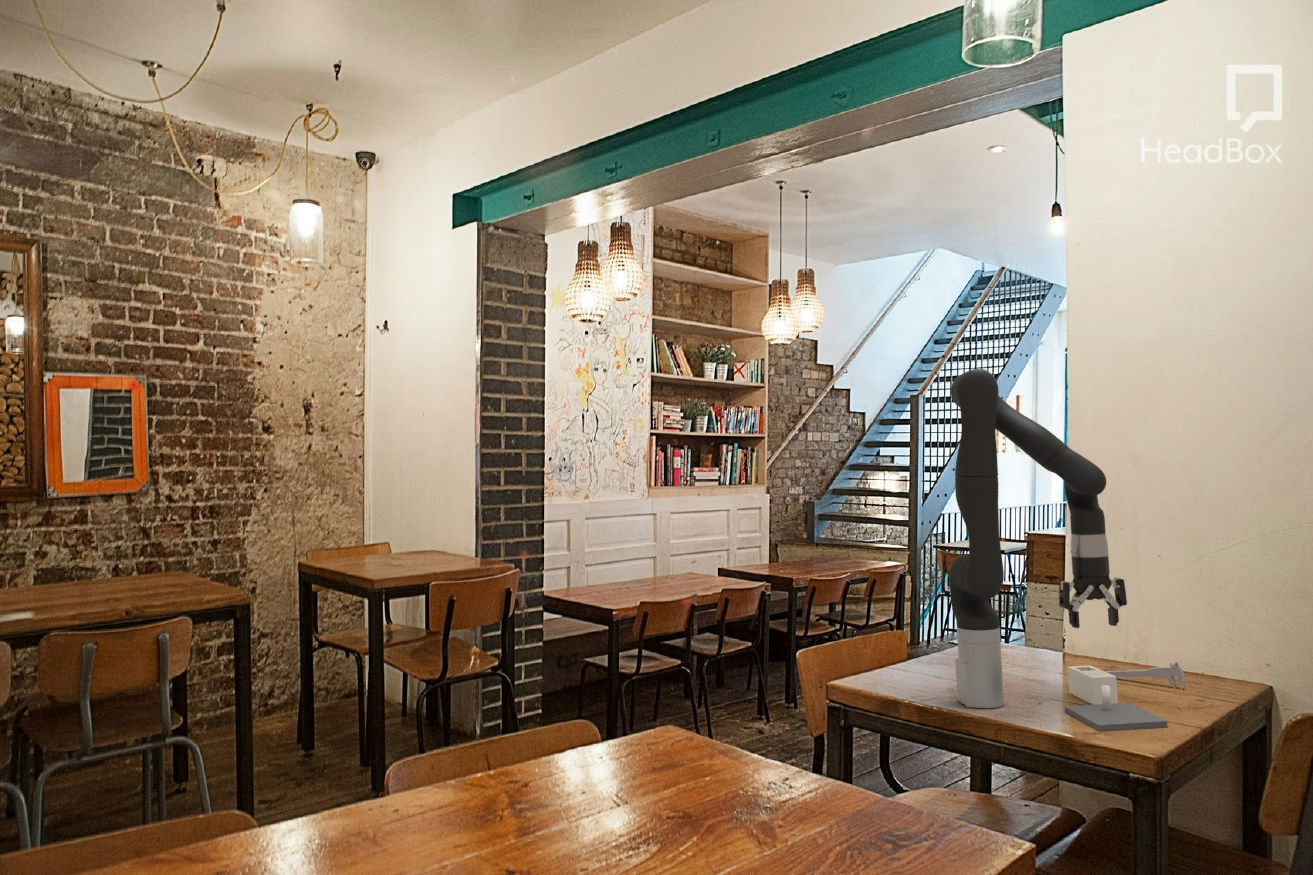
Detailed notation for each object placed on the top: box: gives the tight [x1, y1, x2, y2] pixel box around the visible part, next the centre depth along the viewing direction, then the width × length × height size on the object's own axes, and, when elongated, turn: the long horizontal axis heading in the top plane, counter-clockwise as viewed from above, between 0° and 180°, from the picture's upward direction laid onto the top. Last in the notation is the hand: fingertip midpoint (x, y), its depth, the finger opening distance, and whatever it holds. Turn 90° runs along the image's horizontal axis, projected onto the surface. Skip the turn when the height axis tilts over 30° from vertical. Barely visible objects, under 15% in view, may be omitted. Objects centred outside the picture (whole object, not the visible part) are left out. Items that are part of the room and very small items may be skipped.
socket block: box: [1067, 665, 1119, 705], centre depth 205 cm, size 5×11×6 cm, turn 2°
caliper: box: [1103, 661, 1186, 690], centre depth 216 cm, size 20×1×6 cm, turn 39°
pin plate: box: [1064, 685, 1168, 732], centre depth 188 cm, size 14×14×6 cm
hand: (1094, 626), depth 202 cm, fingers open, 8 cm apart
